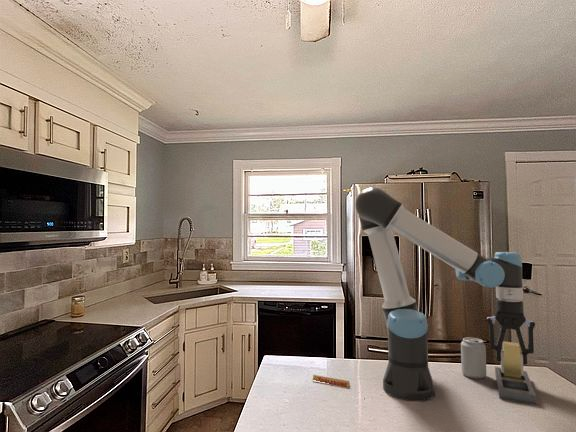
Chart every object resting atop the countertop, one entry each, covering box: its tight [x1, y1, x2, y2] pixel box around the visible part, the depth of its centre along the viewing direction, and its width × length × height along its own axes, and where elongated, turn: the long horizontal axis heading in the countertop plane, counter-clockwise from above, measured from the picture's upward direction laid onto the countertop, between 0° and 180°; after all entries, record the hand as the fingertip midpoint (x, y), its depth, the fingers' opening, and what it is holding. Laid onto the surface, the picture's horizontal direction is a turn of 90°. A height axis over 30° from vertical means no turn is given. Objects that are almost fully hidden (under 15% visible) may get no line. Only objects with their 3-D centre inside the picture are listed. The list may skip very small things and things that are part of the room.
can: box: [460, 337, 487, 380], centre depth 123 cm, size 8×8×12 cm
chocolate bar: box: [312, 374, 351, 389], centre depth 116 cm, size 3×12×2 cm, turn 65°
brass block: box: [502, 340, 521, 379], centre depth 116 cm, size 4×4×10 cm
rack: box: [494, 366, 537, 406], centre depth 112 cm, size 9×20×2 cm, turn 153°
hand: (512, 372), depth 116 cm, fingers closed on brass block, 4 cm apart
